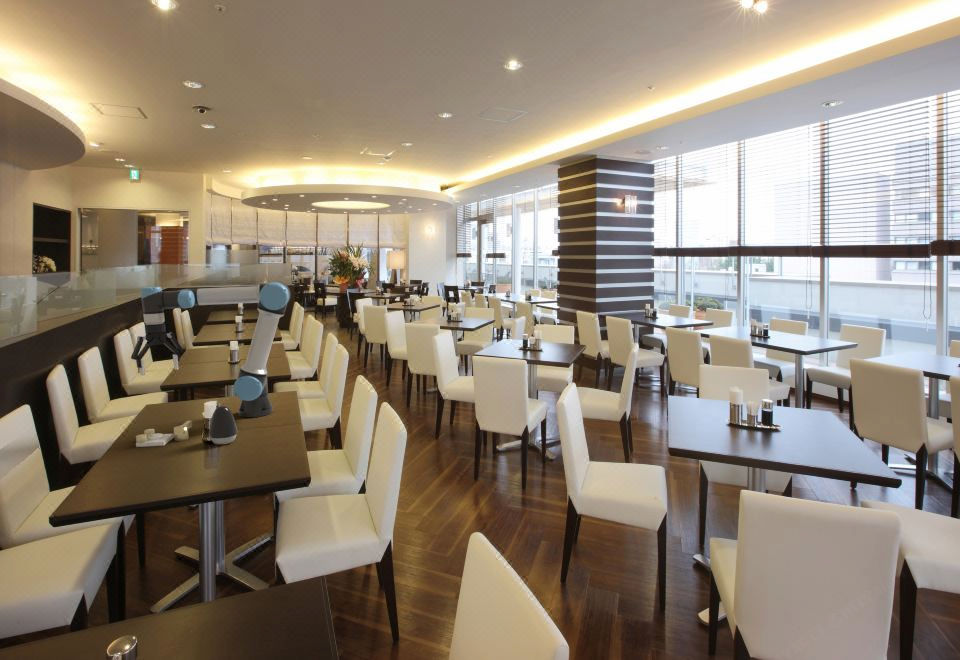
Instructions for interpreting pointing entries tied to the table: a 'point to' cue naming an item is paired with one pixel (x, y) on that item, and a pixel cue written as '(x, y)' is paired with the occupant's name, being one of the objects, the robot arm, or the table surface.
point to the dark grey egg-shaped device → (222, 426)
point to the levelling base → (152, 438)
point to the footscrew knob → (182, 431)
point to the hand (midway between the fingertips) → (160, 372)
